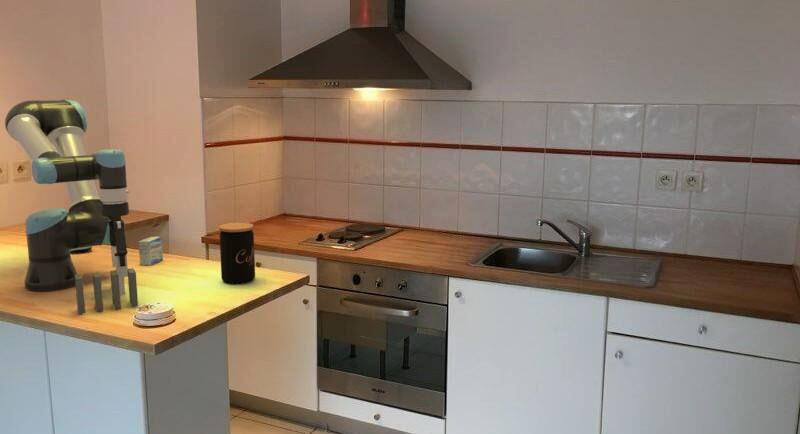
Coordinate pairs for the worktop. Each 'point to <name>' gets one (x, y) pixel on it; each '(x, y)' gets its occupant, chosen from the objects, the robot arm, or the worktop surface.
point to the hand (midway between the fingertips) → (120, 271)
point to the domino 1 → (80, 294)
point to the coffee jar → (237, 253)
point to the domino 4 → (115, 289)
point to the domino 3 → (120, 281)
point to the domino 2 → (98, 291)
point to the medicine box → (150, 250)
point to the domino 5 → (132, 287)
